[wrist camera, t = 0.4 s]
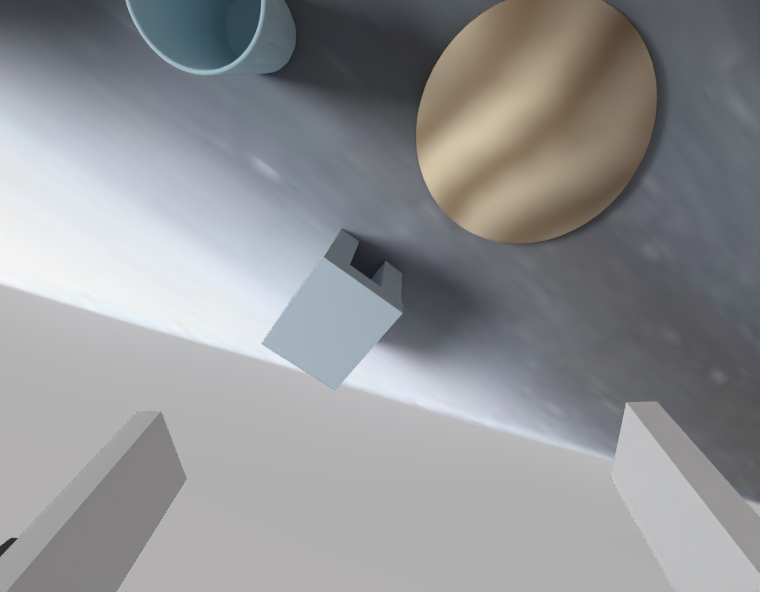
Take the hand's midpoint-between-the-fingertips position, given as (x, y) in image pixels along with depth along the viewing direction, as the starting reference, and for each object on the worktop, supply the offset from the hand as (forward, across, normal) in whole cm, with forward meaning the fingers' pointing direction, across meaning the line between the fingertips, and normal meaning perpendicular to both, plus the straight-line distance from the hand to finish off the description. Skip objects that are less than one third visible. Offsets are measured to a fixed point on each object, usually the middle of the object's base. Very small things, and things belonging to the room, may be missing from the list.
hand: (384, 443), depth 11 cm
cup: (+26, -10, +16) cm, 32 cm away
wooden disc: (+26, +11, +7) cm, 29 cm away
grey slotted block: (+26, -6, -5) cm, 27 cm away
